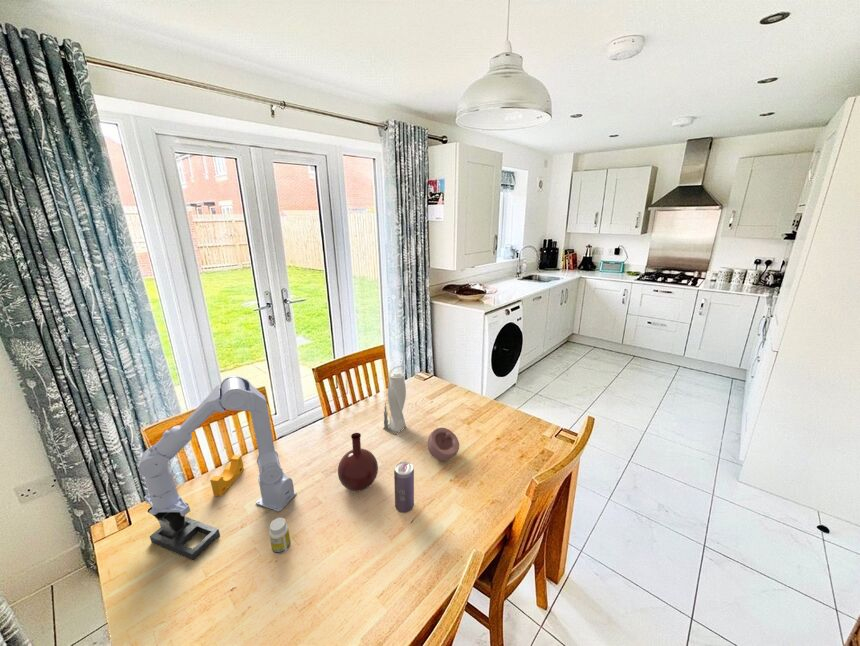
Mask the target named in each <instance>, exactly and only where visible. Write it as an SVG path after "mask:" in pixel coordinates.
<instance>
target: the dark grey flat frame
mask: <svg viewBox="0 0 860 646" xmlns="http://www.w3.org/2000/svg"><path fill="white" fill-rule="evenodd" d="M185 522H186V525H187V527H186V528H185V529H183V530H182V531H181V532H180V533H179V534H178V535H177V536H175V537H174V538H173V539H170V538H167V537H165V536H163V533H162V530H161V527H159V528H158V529H156V531H154V532H152V534H150V535H149V539H150V543H151V544H154V545H156V546H158V547H160V548H162V549H165V550H167V551H170V552H171V553H175V554H176V555H179V556H181V557H184V558H186V559H188V560H191V561H193V562H194V561H196V560H197V559H198V558H199V556H201V555H202V554H203V553H204V552H205V551H206V550H207V549H208V548H209V547H210V546H211V545H212V544H213V543H214V542H215V541H216V540H217V539H218V538H219V537H220V536H221V534H220V530H219V528H216V527H214V526H212V525H209V524H206V523H204V522H201V521H198V520H196V519H192V518H191V517H188V516H186V515H185ZM198 533H200V534H203V535H205V537H204V538H203V539H202V540H200V541H199V542H198V543H197V544H196V545H195V547H193V548H192V547H190V546H187V545H186V544H187V543H188V542H190V541H191V540H192V539H193V538H194V537H196V536H197V534H198Z"/></svg>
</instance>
